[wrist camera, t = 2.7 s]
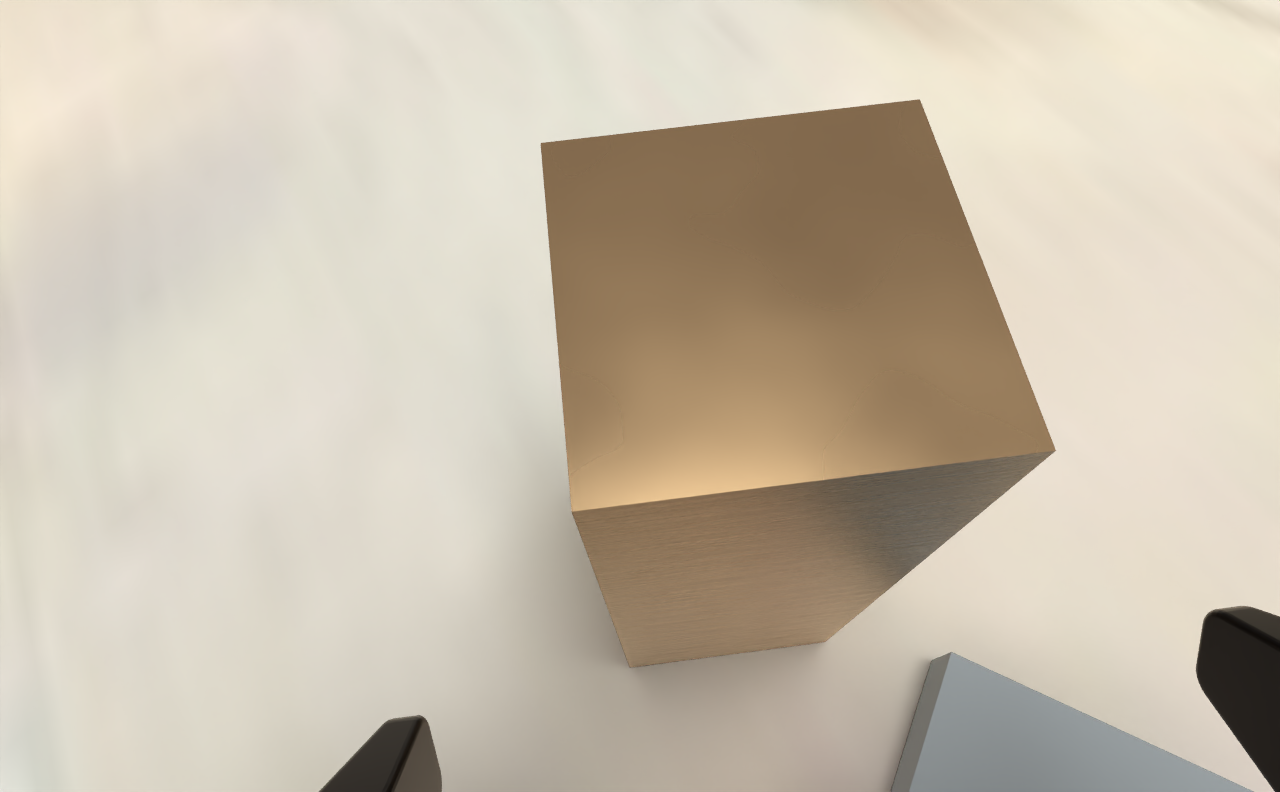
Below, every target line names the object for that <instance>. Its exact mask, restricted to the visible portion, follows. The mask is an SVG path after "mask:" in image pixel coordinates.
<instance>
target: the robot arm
mask: <svg viewBox="0 0 1280 792" xmlns="http://www.w3.org/2000/svg"><path fill="white" fill-rule="evenodd" d="M1196 673H1197V678H1198V681H1199V684H1200V686H1201V688H1202V690H1203V692H1204V693H1205V695H1206V696H1207V697H1208V699H1209V700H1210V702H1211V703H1212V704H1213V706H1214V707H1215V709H1216V710H1217V711H1218V713H1219V714H1220V716H1221V717H1222V718H1223V720H1224V721H1225V723H1226V724H1227V725H1228V727H1229V728H1230V730H1231V731H1232V732H1233V734H1234V735H1235V737H1236V738H1237V739H1238V741H1239V742H1240V744H1241V745H1242V746H1243V748H1244V749H1245V751H1246V752H1247V753H1248V755H1249V756H1250V758H1251V759H1252V760H1253V762H1254V763H1255V764H1256V766H1257V767H1258V769H1259V770H1260V771H1261V773H1262V774H1263V776H1264V777H1265V778H1266V780H1267V781H1268V783H1269V784H1270V785H1271V787H1272V788H1273V790H1274V791H1275V792H1280V617H1279V616H1276V615H1273V614H1271V613H1268V612H1265V611H1262V610H1259V609H1256V608H1253V607H1248V606H1237V607H1230V608H1222V609H1215V610H1212V611H1210V612H1209V613H1208V614H1207V615H1206V617H1205V618H1204V621H1203V626H1202V632H1201V639H1200V645H1199V651H1198V658H1197V664H1196ZM319 792H442V779H441V771H440V767H439V763H438V759H437V755H436V751H435V747H434V743H433V739H432V735H431V731H430V727H429V724H428V722H427V720H426V719H425V718H424V717H422V716H420V715H417V716H409V717H402V718H394V719H391V720H388V721H386V722H385V723H384V724H383V725H382V726H381V727H380V728H379V729H378V730H377V731H376V732H375V733H374V734H373V735H372V736H371V737H370V738H369V740H368V741H367V742H366V743H365V744H364V745H363V746H362V747H361V748H360V749H359V750H358V751H357V752H356V753H355V754H354V755H353V756H352V757H351V758H350V760H349V761H348V762H347V763H346V764H345V765H344V766H343V767H342V768H341V769H340V770H339V771H338V772H337V773H336V774H335V775H334V776H333V777H332V778H331V780H330V781H329V782H328V783H327V784H326V785H325V786H324V787H323V788H322V789H321V790H320V791H319Z"/></svg>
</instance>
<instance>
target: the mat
mask: <svg viewBox="0 0 1280 792" xmlns="http://www.w3.org/2000/svg"><path fill="white" fill-rule="evenodd" d="M891 792H1253V791H1251V790H1249V789H1247V788H1245V787H1243V786H1241V785H1238V784H1236V783H1234V782H1232V781H1230V780H1228V779H1225V778H1223V777H1221V776H1219V775H1217V774H1215V773H1212V772H1210V771H1208V770H1206V769H1204V768H1202V767H1199V766H1197V765H1195V764H1193V763H1191V762H1189V761H1186V760H1184V759H1182V758H1180V757H1178V756H1176V755H1173V754H1171V753H1169V752H1167V751H1165V750H1163V749H1160V748H1158V747H1156V746H1154V745H1152V744H1150V743H1147V742H1145V741H1143V740H1141V739H1139V738H1137V737H1134V736H1132V735H1130V734H1128V733H1126V732H1124V731H1121V730H1119V729H1117V728H1115V727H1113V726H1111V725H1108V724H1106V723H1104V722H1102V721H1100V720H1098V719H1095V718H1093V717H1091V716H1089V715H1087V714H1085V713H1082V712H1080V711H1078V710H1076V709H1074V708H1072V707H1069V706H1067V705H1065V704H1063V703H1061V702H1059V701H1056V700H1054V699H1052V698H1050V697H1048V696H1046V695H1043V694H1041V693H1039V692H1037V691H1035V690H1033V689H1030V688H1028V687H1026V686H1024V685H1022V684H1020V683H1017V682H1015V681H1013V680H1011V679H1009V678H1007V677H1005V676H1002V675H1000V674H998V673H996V672H994V671H992V670H989V669H987V668H985V667H983V666H981V665H979V664H976V663H974V662H972V661H970V660H968V659H966V658H963V657H961V656H959V655H957V654H955V653H953V652H950V653H948V654H946V655H943V656H941V657H939V658H936V659H934V660H932V661H931V665H930V668H929V671H928V674H927V677H926V681H925V684H924V687H923V690H922V693H921V696H920V700H919V703H918V706H917V709H916V712H915V716H914V719H913V722H912V725H911V728H910V732H909V735H908V738H907V741H906V744H905V748H904V751H903V754H902V757H901V760H900V763H899V767H898V770H897V773H896V776H895V779H894V783H893V786H892V789H891Z"/></svg>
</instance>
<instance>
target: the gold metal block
mask: <svg viewBox="0 0 1280 792" xmlns="http://www.w3.org/2000/svg"><path fill="white" fill-rule="evenodd" d="M541 153H542V165H543V177H544V189H545V200H546V212H547V224H548V236H549V248H550V260H551V272H552V284H553V295H554V307H555V319H556V331H557V343H558V355H559V367H560V379H561V390H562V402H563V414H564V426H565V438H566V450H567V462H568V474H569V485H570V497H571V509H572V514H573V516H574V519H575V522H576V525H577V527H578V530H579V533H580V535H581V538H582V541H583V543H584V546H585V549H586V551H587V554H588V557H589V559H590V562H591V565H592V567H593V570H594V573H595V575H596V578H597V581H598V584H599V586H600V589H601V592H602V594H603V597H604V600H605V602H606V605H607V608H608V610H609V613H610V616H611V618H612V621H613V624H614V626H615V629H616V632H617V634H618V637H619V640H620V643H621V645H622V648H623V651H624V653H625V656H626V659H627V661H628V664H629V667H630V668H631V667H638V666H646V665H654V664H661V663H669V662H677V661H684V660H692V659H699V658H707V657H715V656H722V655H730V654H738V653H745V652H753V651H760V650H768V649H776V648H783V647H791V646H799V645H806V644H814V643H822V642H826V641H827V640H828V639H829V638H830V637H832V636H833V635H834V634H835V633H836V632H838V631H839V630H840V629H841V628H842V627H844V626H845V625H846V624H847V623H848V622H850V621H851V620H852V619H853V618H854V617H856V616H857V615H858V614H859V613H861V612H862V611H863V610H864V609H865V608H867V607H868V606H869V605H870V604H871V603H873V602H874V601H875V600H876V599H877V598H879V597H880V596H881V595H882V594H883V593H885V592H886V591H887V590H888V589H889V588H891V587H892V586H893V585H894V584H896V583H897V582H898V581H899V580H900V579H902V578H903V577H904V576H905V575H906V574H908V573H909V572H910V571H911V570H912V569H914V568H915V567H916V566H917V565H918V564H920V563H921V562H922V561H923V560H924V559H926V558H927V557H928V556H929V555H930V554H932V553H933V552H934V551H935V550H937V549H938V548H939V547H940V546H941V545H943V544H944V543H945V542H946V541H947V540H949V539H950V538H951V537H952V536H953V535H955V534H956V533H957V532H958V531H959V530H961V529H962V528H963V527H964V526H965V525H967V524H968V523H969V522H970V521H971V520H973V519H974V518H975V517H976V516H978V515H979V514H980V513H981V512H982V511H984V510H985V509H986V508H987V507H988V506H990V505H991V504H992V503H993V502H994V501H996V500H997V499H998V498H999V497H1000V496H1002V495H1003V494H1004V493H1005V492H1006V491H1008V490H1009V489H1010V488H1011V487H1012V486H1014V485H1015V484H1016V483H1017V482H1019V481H1020V480H1021V479H1022V478H1023V477H1025V476H1026V475H1027V474H1028V473H1029V472H1031V471H1032V470H1033V469H1034V468H1035V467H1037V466H1038V465H1039V464H1040V463H1041V462H1043V461H1044V460H1045V459H1046V458H1047V457H1049V456H1050V455H1051V454H1052V453H1053V452H1055V451H1056V450H1055V447H1054V445H1053V442H1052V439H1051V437H1050V434H1049V432H1048V429H1047V427H1046V424H1045V421H1044V419H1043V416H1042V414H1041V411H1040V409H1039V406H1038V403H1037V401H1036V398H1035V396H1034V393H1033V390H1032V388H1031V385H1030V383H1029V380H1028V378H1027V375H1026V372H1025V370H1024V367H1023V365H1022V362H1021V359H1020V357H1019V354H1018V352H1017V349H1016V347H1015V344H1014V341H1013V339H1012V336H1011V334H1010V331H1009V328H1008V326H1007V323H1006V321H1005V318H1004V316H1003V313H1002V310H1001V308H1000V305H999V303H998V300H997V297H996V295H995V292H994V290H993V287H992V285H991V282H990V279H989V277H988V274H987V272H986V269H985V267H984V264H983V261H982V259H981V256H980V254H979V251H978V248H977V246H976V243H975V241H974V238H973V236H972V233H971V230H970V228H969V225H968V223H967V220H966V217H965V215H964V212H963V210H962V207H961V205H960V202H959V199H958V197H957V194H956V192H955V189H954V186H953V184H952V181H951V179H950V176H949V174H948V171H947V168H946V166H945V163H944V161H943V158H942V156H941V153H940V150H939V148H938V145H937V143H936V140H935V137H934V135H933V132H932V130H931V127H930V125H929V122H928V119H927V117H926V114H925V112H924V109H923V106H922V104H921V101H920V100H911V101H903V102H894V103H885V104H876V105H868V106H859V107H850V108H842V109H833V110H824V111H816V112H807V113H798V114H790V115H781V116H772V117H764V118H755V119H746V120H737V121H729V122H720V123H711V124H703V125H694V126H685V127H677V128H668V129H659V130H651V131H642V132H633V133H625V134H616V135H607V136H599V137H590V138H581V139H573V140H564V141H555V142H546V143H541Z"/></svg>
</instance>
